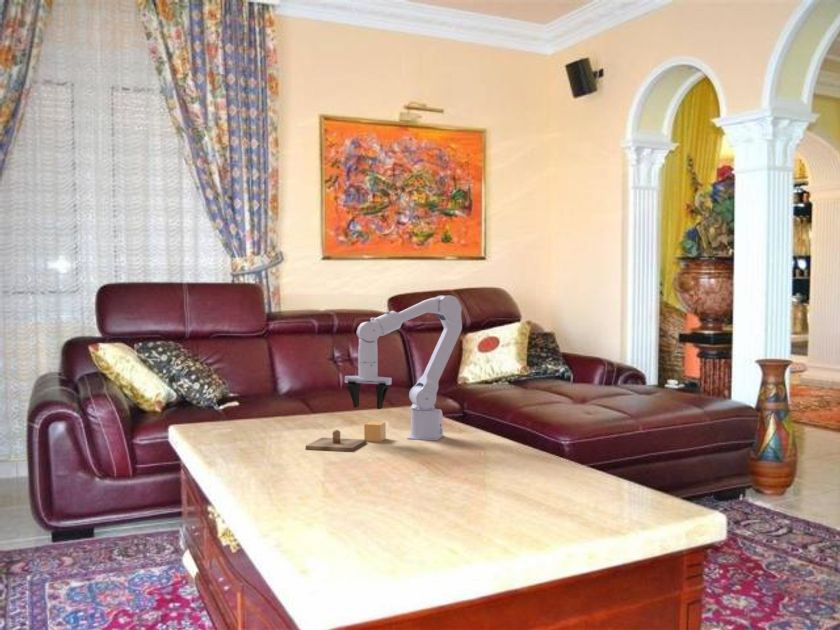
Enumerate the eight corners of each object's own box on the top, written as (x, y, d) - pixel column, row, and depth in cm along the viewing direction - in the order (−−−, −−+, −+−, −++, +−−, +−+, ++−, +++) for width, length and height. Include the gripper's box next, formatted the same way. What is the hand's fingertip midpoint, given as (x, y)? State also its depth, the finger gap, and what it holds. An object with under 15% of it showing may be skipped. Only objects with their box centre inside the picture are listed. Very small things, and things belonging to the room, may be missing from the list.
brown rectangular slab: (366, 442, 217) (366, 426, 217) (352, 451, 205) (352, 434, 205) (322, 441, 221) (321, 425, 221) (305, 449, 209) (305, 432, 209)
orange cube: (385, 438, 223) (385, 422, 223) (380, 441, 219) (380, 424, 218) (369, 437, 225) (369, 421, 225) (364, 441, 220) (364, 424, 220)
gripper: (340, 362, 219) (339, 408, 219) (384, 364, 214) (384, 411, 214) (350, 360, 225) (350, 405, 226) (394, 362, 220) (394, 407, 221)
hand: (367, 407), depth 220 cm, fingers open, 7 cm apart
